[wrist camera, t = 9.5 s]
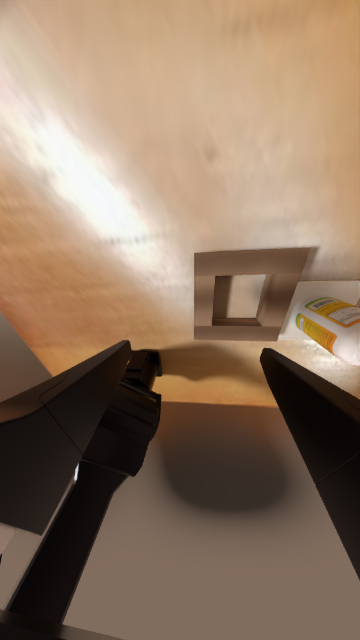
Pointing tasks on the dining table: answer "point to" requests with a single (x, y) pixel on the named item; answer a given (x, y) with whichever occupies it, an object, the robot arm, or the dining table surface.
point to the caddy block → (274, 299)
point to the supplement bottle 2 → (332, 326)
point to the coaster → (312, 289)
